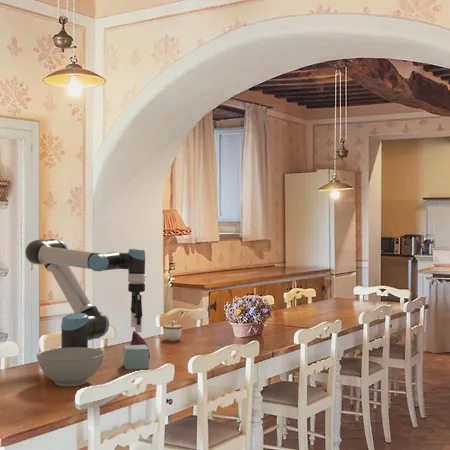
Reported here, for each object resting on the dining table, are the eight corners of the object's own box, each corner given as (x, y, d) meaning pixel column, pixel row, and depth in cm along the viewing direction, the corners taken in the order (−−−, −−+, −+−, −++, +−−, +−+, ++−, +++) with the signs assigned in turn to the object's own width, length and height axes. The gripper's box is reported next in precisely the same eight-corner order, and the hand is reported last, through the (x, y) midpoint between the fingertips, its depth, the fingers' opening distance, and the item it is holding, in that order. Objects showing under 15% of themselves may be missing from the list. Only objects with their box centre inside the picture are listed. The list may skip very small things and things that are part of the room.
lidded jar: (179, 341, 375) (179, 324, 375) (160, 341, 377) (160, 323, 377) (184, 338, 386) (184, 321, 386) (165, 337, 388) (166, 321, 388)
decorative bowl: (108, 375, 294) (108, 347, 294) (98, 391, 267) (99, 360, 267) (44, 375, 293) (45, 347, 293) (29, 391, 266) (29, 360, 266)
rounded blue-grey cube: (125, 369, 306) (126, 349, 306) (123, 364, 316) (123, 345, 316) (148, 368, 309) (148, 348, 308) (145, 363, 318) (145, 344, 318)
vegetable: (130, 367, 325) (123, 338, 322) (128, 360, 335) (121, 331, 332) (152, 361, 327) (145, 331, 324) (149, 354, 337) (142, 325, 334)
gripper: (149, 285, 301) (148, 333, 301) (140, 280, 325) (140, 325, 325) (131, 285, 299) (131, 334, 299) (125, 280, 323) (124, 325, 323)
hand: (136, 329), depth 312 cm, fingers open, 13 cm apart
